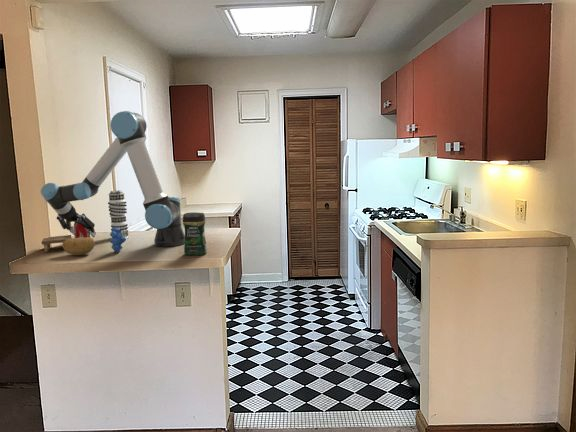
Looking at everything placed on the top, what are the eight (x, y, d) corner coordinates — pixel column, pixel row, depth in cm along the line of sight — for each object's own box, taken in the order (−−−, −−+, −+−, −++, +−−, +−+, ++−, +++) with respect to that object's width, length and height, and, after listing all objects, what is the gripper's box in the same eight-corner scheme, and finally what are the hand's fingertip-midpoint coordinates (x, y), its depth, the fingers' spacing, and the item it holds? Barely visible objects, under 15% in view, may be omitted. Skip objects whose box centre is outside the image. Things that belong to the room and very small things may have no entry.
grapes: (123, 255, 209) (121, 228, 207) (108, 255, 209) (105, 229, 207) (130, 249, 220) (128, 224, 219) (115, 249, 220) (113, 224, 218)
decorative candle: (122, 240, 243) (118, 191, 239) (107, 239, 245) (103, 191, 241) (133, 236, 251) (129, 190, 247) (117, 235, 254) (113, 190, 250)
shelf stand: (71, 250, 222) (70, 239, 221) (42, 253, 218) (41, 242, 217) (72, 245, 233) (71, 234, 232) (45, 247, 229) (44, 237, 228)
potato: (69, 252, 217) (68, 235, 216) (99, 252, 216) (97, 235, 215) (58, 258, 207) (56, 240, 206) (89, 257, 207) (87, 239, 205)
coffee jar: (182, 256, 204) (179, 214, 201) (188, 251, 212) (185, 211, 209) (204, 256, 203) (201, 213, 200) (209, 251, 211) (206, 211, 208)
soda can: (85, 245, 232) (82, 221, 230) (72, 245, 233) (69, 221, 231) (93, 242, 239) (91, 219, 237) (81, 242, 240) (78, 219, 238)
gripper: (40, 215, 220) (63, 241, 238) (83, 214, 217) (103, 241, 235) (46, 202, 224) (68, 229, 242) (88, 202, 221) (107, 228, 240)
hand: (85, 235), depth 239 cm, fingers open, 9 cm apart
